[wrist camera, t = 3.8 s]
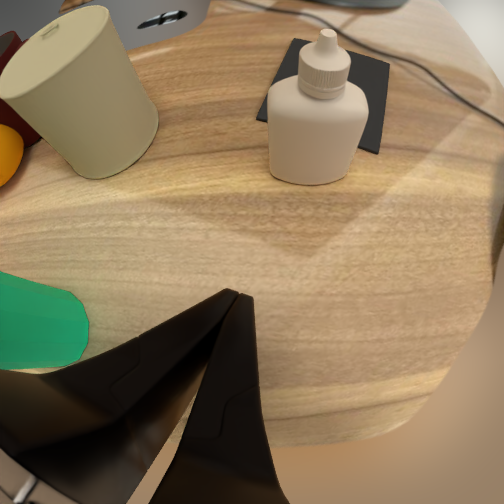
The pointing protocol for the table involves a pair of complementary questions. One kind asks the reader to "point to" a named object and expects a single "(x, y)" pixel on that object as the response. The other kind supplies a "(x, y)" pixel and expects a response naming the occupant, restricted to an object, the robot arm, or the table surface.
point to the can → (82, 93)
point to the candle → (39, 325)
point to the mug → (3, 113)
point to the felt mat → (360, 74)
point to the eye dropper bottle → (315, 116)
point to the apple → (9, 152)
